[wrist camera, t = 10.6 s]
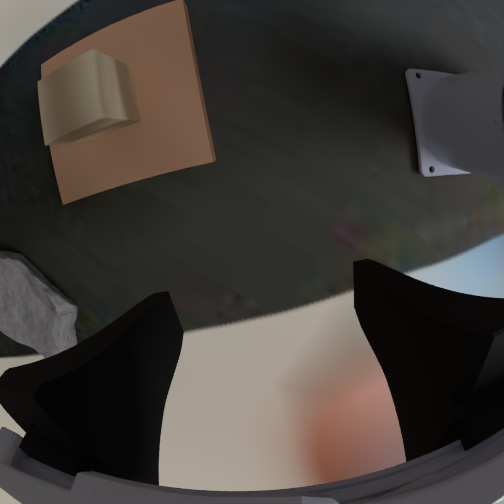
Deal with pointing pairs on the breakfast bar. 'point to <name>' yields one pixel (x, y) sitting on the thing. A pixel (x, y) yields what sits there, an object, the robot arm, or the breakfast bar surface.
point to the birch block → (87, 99)
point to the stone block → (34, 307)
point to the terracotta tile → (141, 106)
